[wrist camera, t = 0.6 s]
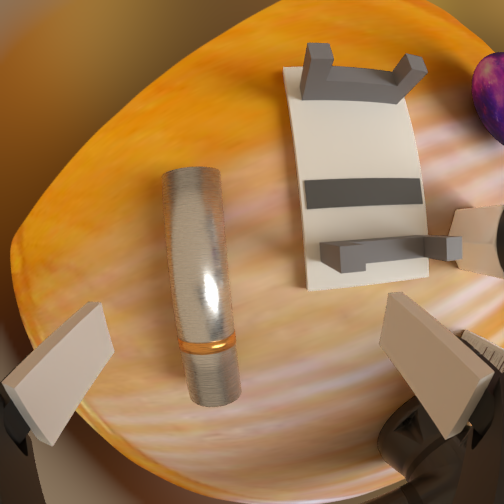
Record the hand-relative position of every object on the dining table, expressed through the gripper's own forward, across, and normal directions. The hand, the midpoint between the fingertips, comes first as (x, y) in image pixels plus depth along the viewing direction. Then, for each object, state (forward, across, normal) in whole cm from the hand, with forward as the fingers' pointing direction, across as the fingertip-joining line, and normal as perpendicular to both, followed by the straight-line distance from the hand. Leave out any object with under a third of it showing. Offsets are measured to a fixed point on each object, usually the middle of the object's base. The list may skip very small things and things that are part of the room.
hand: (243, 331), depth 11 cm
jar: (+17, -30, 0) cm, 34 cm away
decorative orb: (+20, -39, -19) cm, 47 cm away
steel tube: (+16, +5, +4) cm, 17 cm away
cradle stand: (+20, -13, -8) cm, 25 cm away
